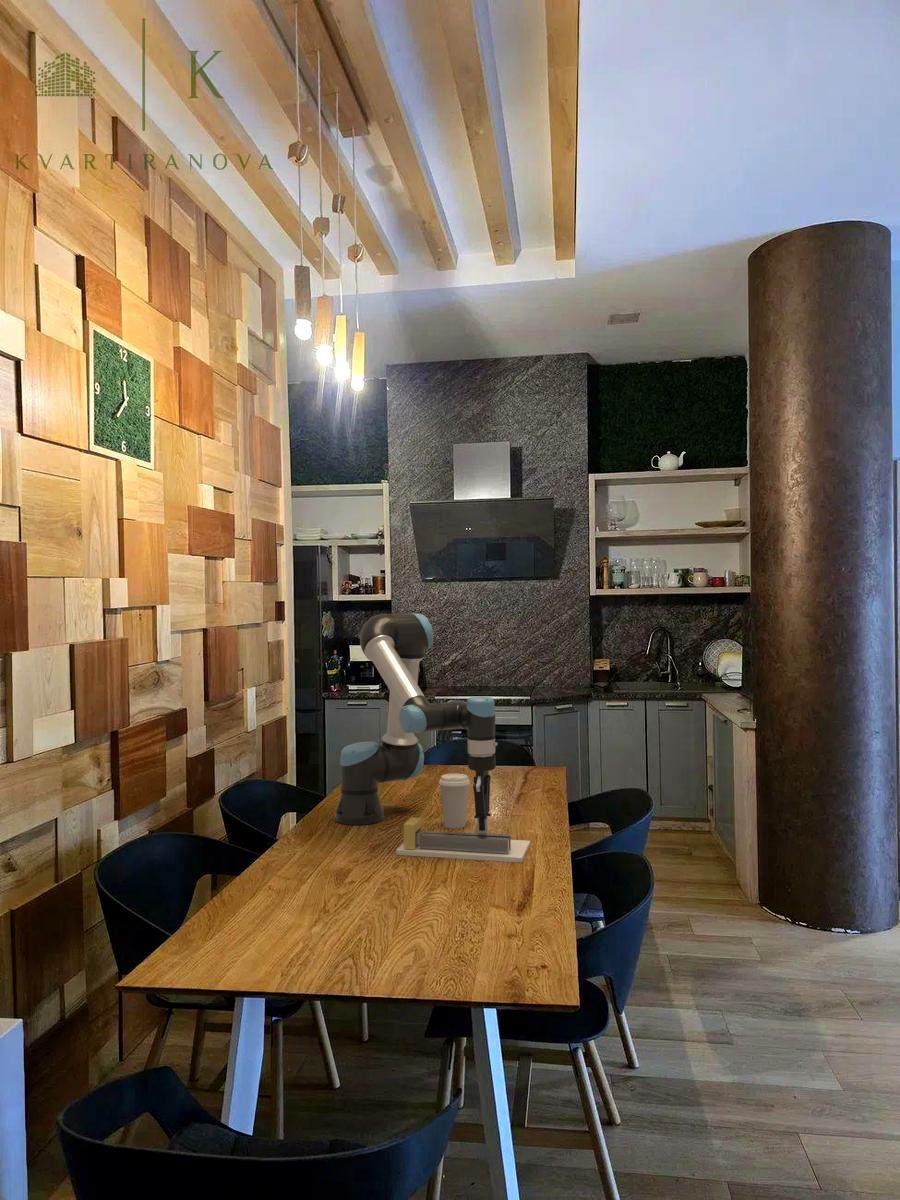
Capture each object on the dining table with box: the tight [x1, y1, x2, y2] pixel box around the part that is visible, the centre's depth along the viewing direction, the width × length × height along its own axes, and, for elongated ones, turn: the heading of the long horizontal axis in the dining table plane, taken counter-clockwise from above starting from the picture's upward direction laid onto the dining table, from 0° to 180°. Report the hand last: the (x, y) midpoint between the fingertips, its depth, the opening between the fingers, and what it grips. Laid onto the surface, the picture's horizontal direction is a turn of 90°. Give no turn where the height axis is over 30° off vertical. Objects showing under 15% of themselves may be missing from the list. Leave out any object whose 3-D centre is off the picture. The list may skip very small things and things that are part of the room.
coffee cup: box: [438, 773, 471, 830], centre depth 253 cm, size 10×10×15 cm
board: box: [395, 839, 531, 863], centre depth 228 cm, size 34×16×1 cm, turn 77°
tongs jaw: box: [422, 830, 512, 850], centre depth 226 cm, size 24×2×4 cm, turn 79°
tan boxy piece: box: [403, 817, 423, 849], centre depth 228 cm, size 3×8×6 cm, turn 167°
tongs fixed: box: [415, 830, 509, 854], centre depth 225 cm, size 28×4×4 cm, turn 77°
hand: (483, 841), depth 227 cm, fingers closed
